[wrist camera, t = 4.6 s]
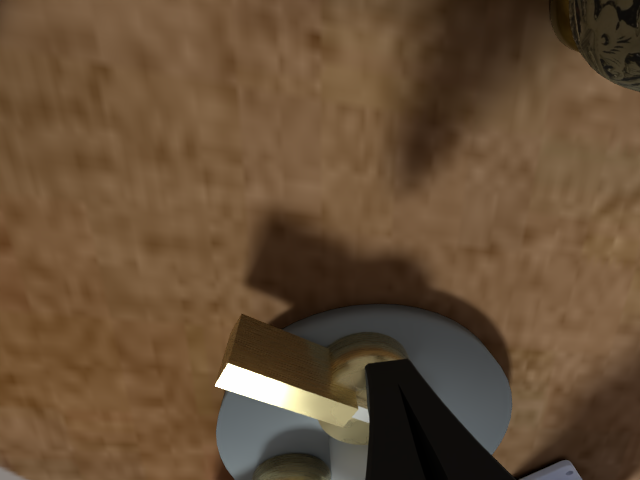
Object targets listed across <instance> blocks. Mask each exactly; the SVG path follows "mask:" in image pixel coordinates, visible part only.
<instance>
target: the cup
mask: <svg viewBox="0 0 640 480" xmlns="http://www.w3.org/2000/svg"><path fill="white" fill-rule="evenodd" d="M550 18H551V24H552V27H553V30H554V32H555V34H556V36H557V38H558V39H559V40H560V41H561V42H562V43H563V44H564V45H565V46H567V47H568V48H570V49H572V50H575V51H577V52H579V53H581V55H582V56H583V57H584V59H585V60H586V61H587V62H588V64H589V65H590V66H591V67H592V68H593V69H594V70H595V71H596V72H597V73H598V74H600V75H602V76H603V77H605V78H606V79H608V80H610V81H611V82H613V83H615V84H617V85H620V86H622V87H625V88H628V89H632V90H635V91H639V92H640V0H551V5H550Z"/></svg>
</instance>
